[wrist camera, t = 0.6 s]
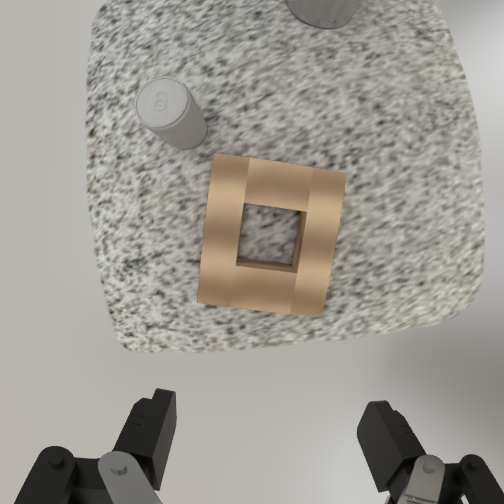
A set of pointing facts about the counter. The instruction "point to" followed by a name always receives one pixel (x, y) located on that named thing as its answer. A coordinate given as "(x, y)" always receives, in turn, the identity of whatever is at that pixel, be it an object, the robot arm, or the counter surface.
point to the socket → (261, 272)
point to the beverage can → (170, 112)
